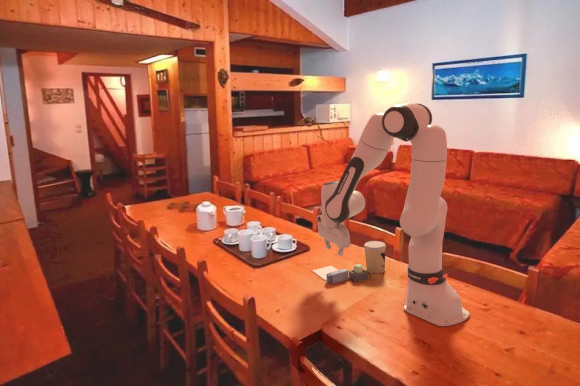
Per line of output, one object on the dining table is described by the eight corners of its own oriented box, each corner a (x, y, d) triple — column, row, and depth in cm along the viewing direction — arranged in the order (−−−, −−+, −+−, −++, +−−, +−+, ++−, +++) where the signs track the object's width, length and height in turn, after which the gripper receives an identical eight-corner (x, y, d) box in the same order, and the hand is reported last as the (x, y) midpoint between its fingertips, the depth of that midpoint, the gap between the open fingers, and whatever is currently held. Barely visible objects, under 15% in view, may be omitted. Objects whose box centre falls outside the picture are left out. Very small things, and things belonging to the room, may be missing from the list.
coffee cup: (386, 274, 172) (386, 247, 170) (364, 274, 174) (363, 247, 172) (386, 265, 181) (385, 240, 178) (365, 265, 183) (364, 240, 180)
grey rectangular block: (344, 277, 173) (344, 268, 172) (348, 279, 170) (348, 270, 169) (326, 282, 169) (326, 273, 168) (330, 284, 167) (329, 275, 166)
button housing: (368, 278, 169) (368, 272, 168) (356, 282, 167) (356, 275, 166) (360, 274, 174) (360, 267, 174) (348, 277, 172) (348, 270, 171)
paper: (345, 274, 175) (345, 274, 175) (325, 280, 171) (325, 279, 171) (331, 266, 185) (331, 265, 185) (312, 271, 182) (312, 270, 181)
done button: (364, 275, 169) (364, 266, 168) (357, 277, 168) (356, 268, 167) (359, 272, 173) (359, 263, 172) (352, 274, 171) (351, 265, 170)
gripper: (353, 224, 156) (354, 258, 159) (327, 213, 174) (328, 243, 177) (339, 227, 154) (340, 261, 157) (314, 215, 172) (316, 246, 175)
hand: (334, 251), depth 167 cm, fingers open, 8 cm apart
